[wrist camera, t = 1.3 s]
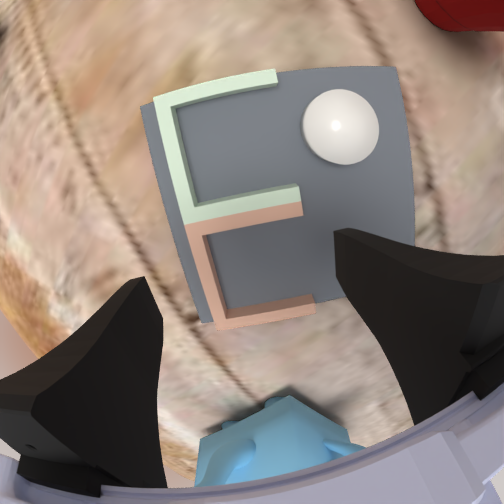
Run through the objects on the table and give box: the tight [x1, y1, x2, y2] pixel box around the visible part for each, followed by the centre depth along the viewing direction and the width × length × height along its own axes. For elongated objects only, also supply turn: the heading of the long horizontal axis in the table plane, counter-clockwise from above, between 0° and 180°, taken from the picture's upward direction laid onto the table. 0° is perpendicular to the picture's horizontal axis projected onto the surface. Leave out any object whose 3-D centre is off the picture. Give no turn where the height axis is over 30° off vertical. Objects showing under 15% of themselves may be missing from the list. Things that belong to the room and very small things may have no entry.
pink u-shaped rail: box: [184, 201, 316, 331], centre depth 21 cm, size 9×8×1 cm
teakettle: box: [194, 395, 365, 487], centre depth 25 cm, size 19×19×15 cm
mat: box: [140, 66, 415, 323], centre depth 20 cm, size 18×19×1 cm
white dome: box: [300, 89, 379, 165], centre depth 17 cm, size 5×5×2 cm
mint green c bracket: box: [153, 69, 301, 225], centre depth 18 cm, size 9×8×1 cm
